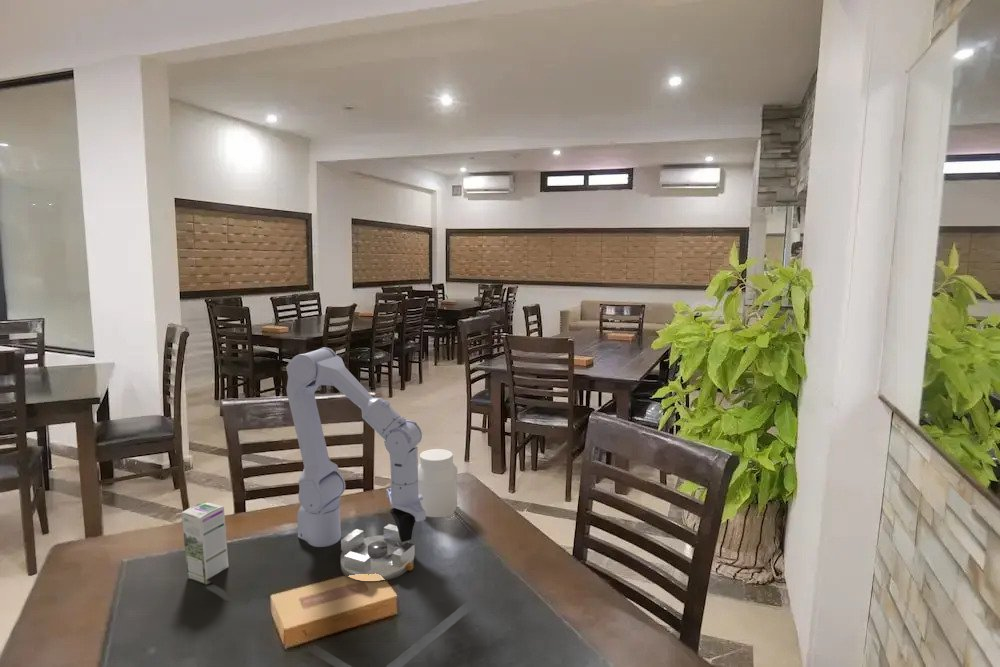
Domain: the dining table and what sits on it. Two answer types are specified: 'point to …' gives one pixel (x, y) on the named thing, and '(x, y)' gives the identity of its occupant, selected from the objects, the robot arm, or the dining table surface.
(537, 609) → the dining table surface
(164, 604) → the dining table surface
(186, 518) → the syrup box
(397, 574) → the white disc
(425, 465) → the jar
